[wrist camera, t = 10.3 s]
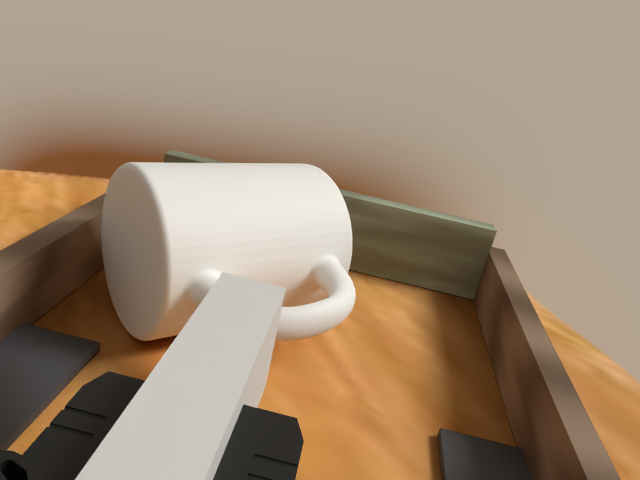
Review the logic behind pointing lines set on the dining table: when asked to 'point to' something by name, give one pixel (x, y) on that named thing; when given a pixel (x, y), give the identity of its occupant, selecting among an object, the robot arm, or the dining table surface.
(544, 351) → the wooden tray
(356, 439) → the dining table surface
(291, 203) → the mug
